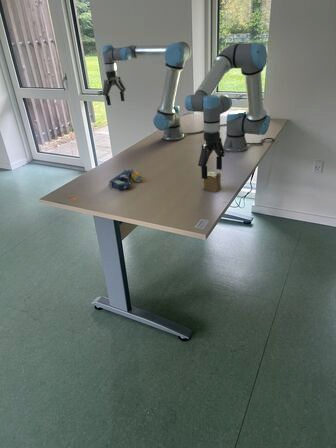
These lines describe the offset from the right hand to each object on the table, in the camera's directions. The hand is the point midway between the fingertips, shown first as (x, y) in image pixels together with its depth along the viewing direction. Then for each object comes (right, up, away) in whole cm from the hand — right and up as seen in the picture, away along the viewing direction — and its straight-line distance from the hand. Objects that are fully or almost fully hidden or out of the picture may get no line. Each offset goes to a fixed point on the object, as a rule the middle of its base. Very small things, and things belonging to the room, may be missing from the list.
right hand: (211, 173), depth 165 cm
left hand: (-59, +62, +73) cm, 112 cm away
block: (+1, -7, +5) cm, 8 cm away
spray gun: (-44, -2, +20) cm, 48 cm away
